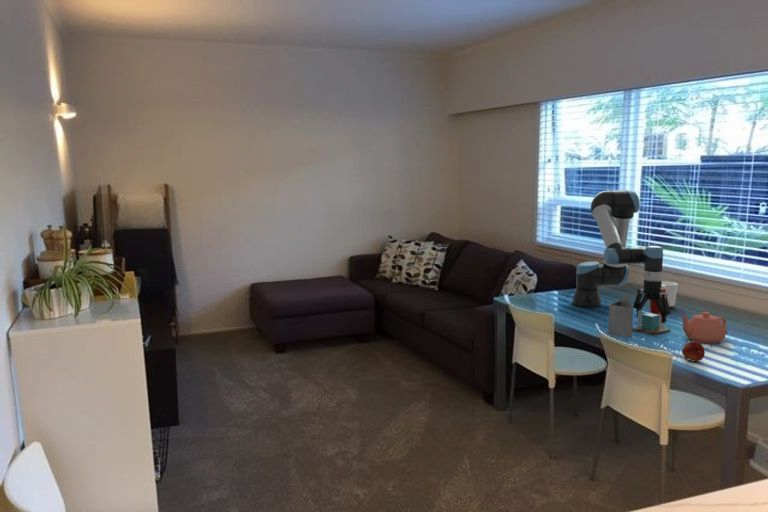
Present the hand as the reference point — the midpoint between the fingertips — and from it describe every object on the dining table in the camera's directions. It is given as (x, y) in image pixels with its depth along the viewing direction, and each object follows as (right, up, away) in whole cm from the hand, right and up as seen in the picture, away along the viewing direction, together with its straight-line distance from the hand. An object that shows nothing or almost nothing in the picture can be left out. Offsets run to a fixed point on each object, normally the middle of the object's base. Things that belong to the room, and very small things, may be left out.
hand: (650, 326), depth 277 cm
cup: (+28, +5, +44) cm, 53 cm away
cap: (0, -1, 0) cm, 1 cm away
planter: (-16, -3, -2) cm, 17 cm away
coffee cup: (+17, +3, +31) cm, 35 cm away
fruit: (-2, -9, -42) cm, 43 cm away
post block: (0, -2, 0) cm, 2 cm away
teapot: (+16, -4, -16) cm, 23 cm away
